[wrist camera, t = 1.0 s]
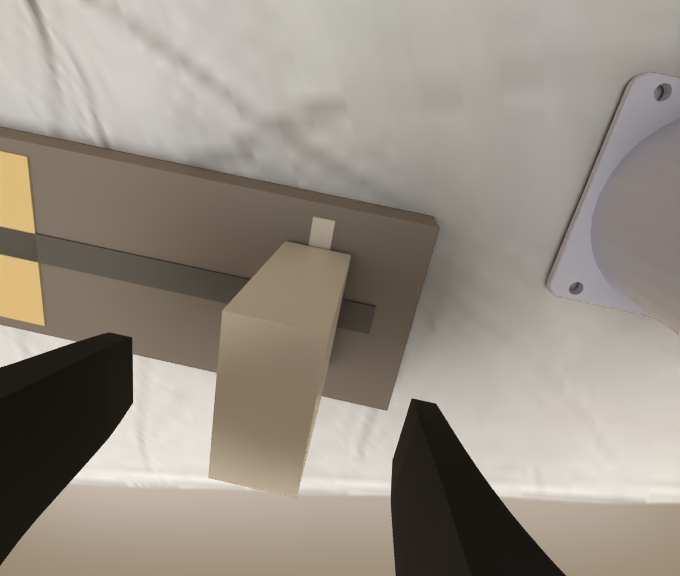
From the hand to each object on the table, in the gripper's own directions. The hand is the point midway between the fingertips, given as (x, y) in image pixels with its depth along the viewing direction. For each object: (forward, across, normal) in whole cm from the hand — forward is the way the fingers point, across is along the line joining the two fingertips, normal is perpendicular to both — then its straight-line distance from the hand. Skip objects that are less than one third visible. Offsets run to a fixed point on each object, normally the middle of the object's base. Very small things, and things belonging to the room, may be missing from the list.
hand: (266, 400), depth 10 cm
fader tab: (+6, 0, 0) cm, 6 cm away
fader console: (+8, +6, 0) cm, 10 cm away
